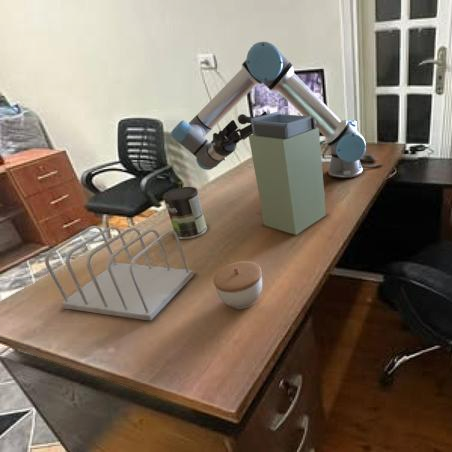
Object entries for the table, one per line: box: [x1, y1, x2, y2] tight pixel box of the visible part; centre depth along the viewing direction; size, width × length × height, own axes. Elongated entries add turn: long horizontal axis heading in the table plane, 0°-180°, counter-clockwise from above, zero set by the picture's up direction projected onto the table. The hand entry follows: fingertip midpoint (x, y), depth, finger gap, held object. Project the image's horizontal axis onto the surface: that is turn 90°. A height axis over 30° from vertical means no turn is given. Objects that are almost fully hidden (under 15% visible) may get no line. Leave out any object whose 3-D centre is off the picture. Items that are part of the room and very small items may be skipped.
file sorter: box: [44, 225, 195, 321], centre depth 86 cm, size 25×17×16 cm
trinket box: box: [213, 260, 263, 310], centre depth 81 cm, size 11×11×9 cm
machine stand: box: [248, 117, 327, 236], centre depth 112 cm, size 14×16×33 cm
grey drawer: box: [237, 110, 312, 138], centre depth 108 cm, size 26×12×4 cm, turn 54°
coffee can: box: [162, 186, 208, 240], centre depth 114 cm, size 10×10×14 cm
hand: (251, 119), depth 111 cm, fingers open, 13 cm apart
